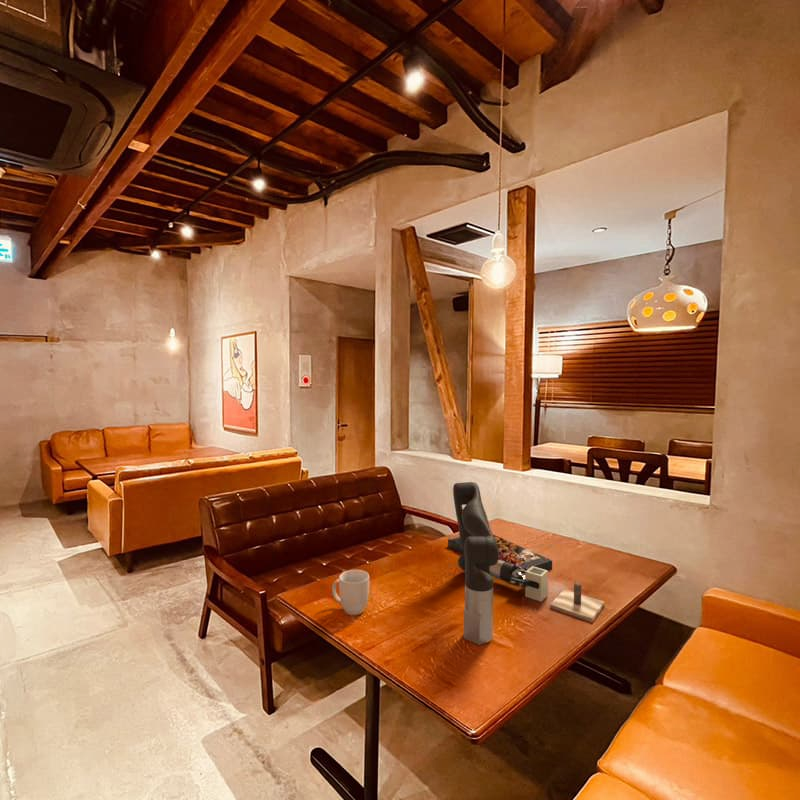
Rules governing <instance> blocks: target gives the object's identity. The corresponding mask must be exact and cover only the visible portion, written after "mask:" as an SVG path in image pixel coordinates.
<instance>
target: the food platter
mask: <svg viewBox="0 0 800 800" xmlns="http://www.w3.org/2000/svg"><path fill="white" fill-rule="evenodd" d="M493 536H494V538H495V540H496V543H497V546H498V551H499V559H498V560H502V561H505V562H509V563H512V564H515V565H516V566H517V568H518V569H523V570H524V567H528V568H531V567H532V566H534V567H537V568H541V569H544V570H547V571H551V570H552V569H553V560H552V559H549V558H547V557H546V556H542V555H540V554H538V553H536V552H535V551H532V550H530V549H527V548H525V547H522V546H520V545H519V544H515V543H513V542H511V541H509V540H507V539H505V538H503V537H502V536H501V537H500V536H498V535H495V534H493ZM447 547H448V548H450V549H452V550H454V551H456V552H457V553H459V554H461V555H462V554H464V550H463V549H462V548H461V546H460V537H459V536H454V537H452V538H448V539H447Z"/></svg>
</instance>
